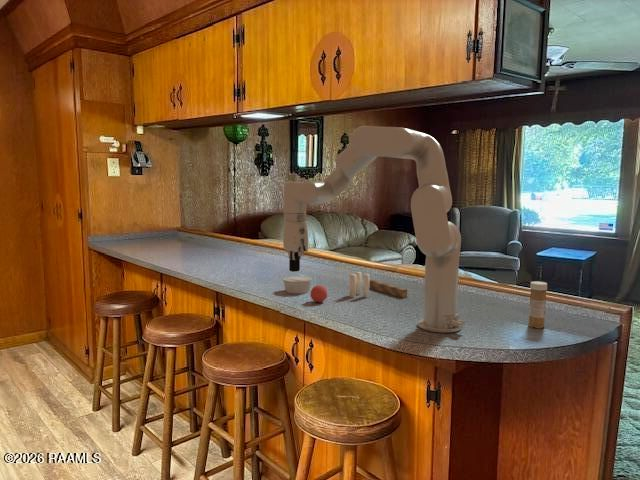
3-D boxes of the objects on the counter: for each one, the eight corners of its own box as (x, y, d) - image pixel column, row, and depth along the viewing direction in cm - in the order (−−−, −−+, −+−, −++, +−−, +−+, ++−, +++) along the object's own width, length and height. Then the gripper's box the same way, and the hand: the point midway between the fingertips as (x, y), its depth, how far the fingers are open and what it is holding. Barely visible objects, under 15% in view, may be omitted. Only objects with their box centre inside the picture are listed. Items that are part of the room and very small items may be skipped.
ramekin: (282, 294, 185) (282, 281, 184) (284, 288, 196) (284, 275, 195) (311, 294, 185) (311, 281, 184) (312, 288, 196) (312, 275, 195)
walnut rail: (406, 297, 181) (407, 289, 181) (402, 297, 180) (403, 290, 180) (370, 286, 200) (370, 279, 199) (366, 286, 199) (366, 279, 198)
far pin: (362, 294, 185) (362, 272, 184) (357, 295, 184) (357, 273, 183) (358, 293, 187) (359, 271, 186) (353, 293, 186) (353, 272, 185)
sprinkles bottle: (532, 323, 148) (534, 280, 146) (547, 326, 145) (550, 282, 143) (525, 326, 145) (527, 282, 143) (540, 329, 142) (543, 284, 140)
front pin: (357, 297, 181) (357, 274, 180) (352, 297, 180) (352, 275, 179) (353, 295, 183) (353, 273, 182) (348, 296, 182) (348, 274, 181)
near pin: (370, 297, 181) (370, 274, 180) (365, 297, 180) (365, 275, 179) (366, 295, 183) (366, 273, 182) (361, 296, 182) (361, 274, 181)
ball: (330, 302, 173) (330, 286, 172) (316, 304, 169) (316, 288, 169) (321, 299, 178) (321, 283, 177) (307, 301, 174) (307, 285, 174)
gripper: (315, 219, 161) (315, 273, 163) (294, 216, 173) (293, 266, 175) (296, 220, 157) (295, 275, 159) (275, 216, 169) (274, 268, 171)
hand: (294, 270), depth 167 cm, fingers closed
